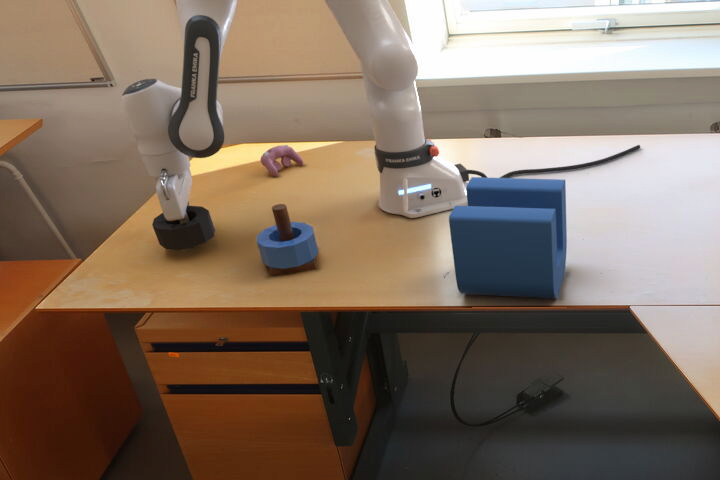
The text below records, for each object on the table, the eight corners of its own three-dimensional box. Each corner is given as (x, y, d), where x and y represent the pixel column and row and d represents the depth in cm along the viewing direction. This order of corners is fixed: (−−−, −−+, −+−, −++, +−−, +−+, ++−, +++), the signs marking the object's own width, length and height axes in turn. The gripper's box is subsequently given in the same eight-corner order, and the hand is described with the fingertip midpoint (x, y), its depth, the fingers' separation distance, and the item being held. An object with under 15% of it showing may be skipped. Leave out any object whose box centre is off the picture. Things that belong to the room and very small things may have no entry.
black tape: (216, 222, 173) (209, 202, 170) (213, 244, 164) (206, 224, 161) (163, 230, 171) (156, 210, 168) (157, 253, 162) (149, 233, 159)
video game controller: (297, 167, 208) (284, 143, 206) (306, 163, 205) (293, 138, 202) (268, 180, 201) (254, 155, 199) (276, 176, 198) (262, 150, 196)
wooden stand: (314, 249, 166) (301, 194, 159) (315, 268, 159) (302, 212, 152) (271, 255, 164) (256, 201, 157) (270, 275, 157) (254, 219, 150)
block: (554, 310, 142) (551, 220, 132) (459, 305, 145) (448, 217, 135) (567, 262, 157) (565, 178, 146) (480, 258, 159) (472, 175, 149)
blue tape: (316, 238, 167) (311, 218, 164) (319, 262, 158) (314, 241, 155) (262, 247, 164) (256, 227, 161) (262, 272, 155) (256, 251, 153)
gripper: (176, 177, 154) (198, 240, 162) (186, 142, 170) (206, 201, 179) (142, 182, 153) (166, 245, 161) (156, 147, 169) (177, 205, 177)
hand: (187, 221), depth 170 cm, fingers closed on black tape, 2 cm apart
